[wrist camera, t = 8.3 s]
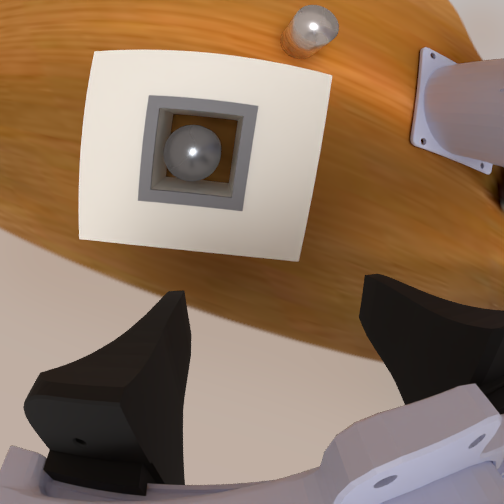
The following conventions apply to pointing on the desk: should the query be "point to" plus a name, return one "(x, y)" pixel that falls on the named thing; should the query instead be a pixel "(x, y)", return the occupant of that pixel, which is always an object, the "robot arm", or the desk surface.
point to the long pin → (192, 152)
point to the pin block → (200, 192)
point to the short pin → (309, 31)
